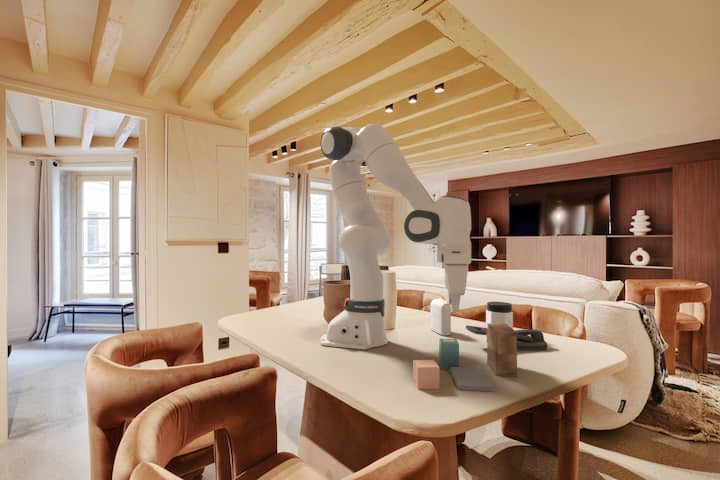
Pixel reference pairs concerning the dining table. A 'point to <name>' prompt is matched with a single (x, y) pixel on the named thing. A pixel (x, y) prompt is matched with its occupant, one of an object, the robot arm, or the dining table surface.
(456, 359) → the block
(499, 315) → the jar
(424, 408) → the dining table surface
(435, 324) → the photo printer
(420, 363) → the block
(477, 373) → the felt pad
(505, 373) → the block
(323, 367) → the dining table surface
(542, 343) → the zipper pull
